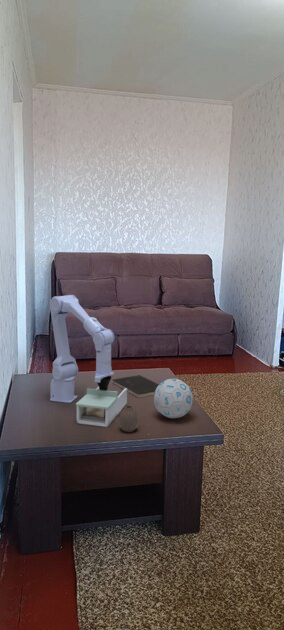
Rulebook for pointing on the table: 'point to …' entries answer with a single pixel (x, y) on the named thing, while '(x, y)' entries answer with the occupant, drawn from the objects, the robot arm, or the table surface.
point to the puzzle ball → (173, 398)
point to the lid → (98, 399)
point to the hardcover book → (137, 385)
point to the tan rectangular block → (95, 412)
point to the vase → (128, 419)
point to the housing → (109, 413)
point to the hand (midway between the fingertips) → (103, 394)
